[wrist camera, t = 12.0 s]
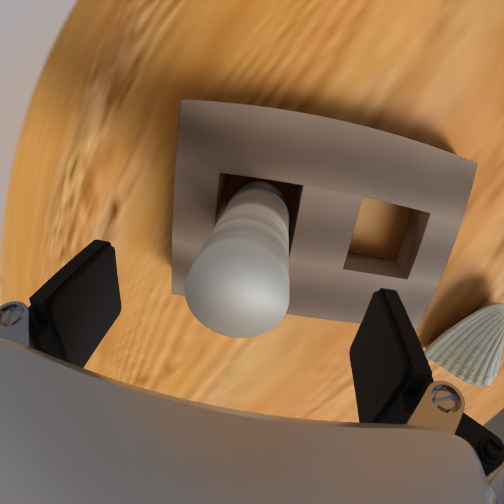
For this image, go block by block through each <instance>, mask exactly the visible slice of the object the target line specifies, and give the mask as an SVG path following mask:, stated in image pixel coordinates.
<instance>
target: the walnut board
mask: <svg viewBox="0 0 504 504" xmlns="http://www.w3.org/2000/svg"><path fill="white" fill-rule="evenodd" d="M477 164H478V163H475V162H473V161H471V160H468V159H466V158H463V157H461V156H458V155H455V154H453V153H450V152H447V151H445V150H442V149H439V148H436V147H433V146H430V145H427V144H424V143H421V142H418V141H415V140H412V139H409V138H406V137H402V136H399V135H396V134H392V133H389V132H385V131H381V130H378V129H374V128H370V127H366V126H362V125H358V124H354V123H350V122H346V121H341V120H337V119H332V118H327V117H323V116H317V115H312V114H307V113H301V112H296V111H290V110H283V109H277V108H270V107H263V106H255V105H247V104H237V103H227V102H216V101H202V100H184V99H181V107H180V116H179V127H178V138H177V150H176V163H175V179H174V198H173V223H172V294H175V295H180V296H185V290H184V288H185V281H186V277H187V275H188V273H189V271H190V269H191V267H192V265H193V264H194V262H195V260H196V258H197V257H198V255H199V253H200V251H201V250H202V248H203V246H204V244H205V243H206V241H207V239H208V238H209V236H210V234H211V232H212V231H213V229H214V227H215V226H216V224H217V222H218V221H219V219H220V217H221V215H222V214H223V206H224V196H225V187H226V178H227V174H235V175H242V176H249V177H256V178H262V179H269V180H275V181H281V182H287V183H293V184H299V190H298V195H297V201H296V206H295V211H294V217H293V222H292V227H291V232H290V237H289V306H288V309H287V312H286V314H291V315H298V316H305V317H312V318H319V319H327V320H335V321H343V322H351V323H359V324H361V322H362V320H363V318H364V315H365V313H366V310H367V308H368V305H369V303H370V300H371V298H372V295H373V293H374V292H375V291H379V289H380V288H385V289H392V290H396V291H397V293H398V295H399V297H400V299H401V301H402V303H403V305H404V307H405V310H406V312H407V314H408V316H409V318H410V321H411V323H412V325H413V327H414V329H418V327H419V325H420V323H421V321H422V318H423V316H424V314H425V312H426V310H427V308H428V306H429V304H430V302H431V299H432V297H433V295H434V293H435V291H436V288H437V286H438V284H439V281H440V279H441V277H442V274H443V272H444V269H445V267H446V264H447V262H448V259H449V256H450V254H451V251H452V248H453V246H454V243H455V240H456V237H457V234H458V231H459V228H460V225H461V222H462V219H463V216H464V213H465V210H466V206H467V203H468V199H469V196H470V192H471V189H472V185H473V181H474V177H475V173H476V169H477ZM362 197H365V198H370V199H374V200H379V201H383V202H387V203H392V204H396V205H400V206H404V207H408V208H412V212H411V215H410V218H409V222H408V225H407V228H406V232H405V235H404V238H403V241H402V244H401V247H400V250H399V253H398V256H397V259H396V261H394V260H388V259H382V258H377V257H371V256H365V255H360V254H354V253H348V249H349V246H350V242H351V238H352V235H353V231H354V227H355V223H356V220H357V216H358V212H359V208H360V204H361V199H362Z"/></svg>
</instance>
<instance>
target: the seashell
mask: <svg viewBox="0 0 504 504" xmlns="http://www.w3.org/2000/svg"><path fill="white" fill-rule="evenodd" d="M503 342H504V304H502V303H496V304H492V305H489V306H486V307H484V308H482V309H480V310H478V311H476V312H474V313H473V314H471V315H469V316H468V317H466V318H464V319H462V320H461V321H459V322H458V323H456V324H455V325H454V326H452V327H451V328H449V329H448V330H446V331H445V332H443V333H442V334H441V335H440V336H439V337H437V338H436V339H435V340H434V341H433V342H432V343H431V344H430V345H429V346H428V347H427V348H426V350H425V351H424V354H425V356H426V358H427V359H429V360H432V361H433V362H435V363H437V364H438V365H439V366H441V367H443V368H445V369H446V370H447V371H448V372H450V373H452V374H453V375H455V376H456V377H458V378H460V379H462V380H463V381H465V382H468V383H470V384H472V385H478V386H480V387H482V386H486V385H490V384H491V383H492V381H493V379H494V378H495V377H496V375H497V374H498V372H499V367H500V364H501V360H502V355H503Z"/></svg>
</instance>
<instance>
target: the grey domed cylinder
mask: <svg viewBox="0 0 504 504" xmlns="http://www.w3.org/2000/svg"><path fill="white" fill-rule="evenodd" d="M288 227H289V213H288V205H287V201H286V198H285V196H284V194H283V193H282V192H281V190H280V189H278V188H277V187H276V186H274V185H273V184H271V183H268V182H264V181H253V182H249V183H247V184H244V185H243V186H241V187H240V188H239V189H238V190H237V191H236V192H235V194H234V196H233V197H232V198H231V199H230V200H229V202H228V204H227V205H226V208H225V210H224V212H223V214H222V215H221V217H220V219H219V221H218V222H217V224H216V226H215V227H214V229H213V231H212V232H211V234H210V236H209V238H208V239H207V241H206V243H205V244H204V246H203V248H202V250H201V251H200V253H199V255H198V257H197V258H196V260H195V262H194V264H193V265H192V267H191V269H190V271H189V273H188V275H187V277H186V281H185V288H184V290H185V298H186V301H187V304H188V306H189V308H190V310H191V312H192V313H193V315H194V316H195V317H196V318H197V319H198V320H199V321H200V322H201V323H202V324H203V325H205V326H206V327H207V328H209V329H211V330H212V331H215V332H217V333H219V334H222V335H225V336H229V337H236V338H247V337H254V336H258V335H261V334H264V333H266V332H268V331H270V330H271V329H273V328H274V327H275V326H277V325H278V324H279V323H280V322H281V320H282V319H283V317H284V316H285V314H286V312H287V309H288V306H289V235H288Z"/></svg>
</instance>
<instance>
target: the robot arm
mask: <svg viewBox="0 0 504 504" xmlns="http://www.w3.org/2000/svg"><path fill="white" fill-rule="evenodd" d="M29 300H30V303H31V305H30V306H29V307H27V306H26V305H25V304H24V303H22V302H18V301H15V302H9V303H6V304H4V305H2V306H0V504H504V445H503V443H502V441H501V440H500V439H499V438H498V437H497V436H496V435H495V434H493V433H492V432H490V431H489V430H487V429H486V428H485V427H483V426H482V425H480V424H479V423H477V422H476V421H475V420H473V419H472V418H470V417H469V416H468V415H466V414H465V413H463V411H464V408H465V400H464V397H463V395H462V393H461V392H460V391H459V389H458V388H457V387H455V386H454V385H453V384H451V383H449V382H446V381H435V382H434V380H433V378H432V371H431V369H430V366H429V364H428V361H427V358H426V356H425V354H424V351H423V349H422V346H421V344H420V341H419V339H418V337H417V334H416V332H415V330H414V327H413V325H412V323H411V321H410V318H409V316H408V314H407V312H406V310H405V307H404V305H403V303H402V301H401V299H400V297H399V295H398V293H397V291H396V290H392V289H385V288H380V289H379V291H375V292H374V293H373V295H372V298H371V300H370V303H369V305H368V308H367V310H366V313H365V315H364V318H363V320H362V322H361V325H360V327H359V329H358V332H357V334H356V336H355V339H354V341H353V343H352V345H351V348H350V362H351V368H352V374H353V380H354V387H355V393H356V400H357V408H358V415H359V423H354V422H336V421H322V420H309V419H299V418H290V417H281V416H273V415H266V414H259V413H253V412H246V411H240V410H235V409H229V408H224V407H218V406H213V405H209V404H204V403H199V402H195V401H190V400H186V399H182V398H178V397H174V396H170V395H166V394H162V393H158V392H155V391H151V390H148V389H144V388H141V387H137V386H134V385H131V384H128V383H124V382H121V381H118V380H115V379H112V378H109V377H106V376H103V375H100V374H97V373H95V372H92V371H89V370H86V369H84V366H85V365H86V363H87V361H88V360H89V358H90V357H91V355H92V354H93V352H94V351H95V349H96V348H97V346H98V345H99V343H100V342H101V340H102V339H103V337H104V336H105V334H106V333H107V332H108V330H109V329H110V327H111V326H112V324H113V323H114V321H115V320H116V319H117V317H118V316H119V314H120V312H121V299H120V292H119V284H118V276H117V267H116V257H115V249H114V247H112V246H111V243H110V242H107V241H102V240H94V241H93V242H91V243H90V244H89V245H88V246H87V247H85V248H84V249H83V250H82V251H81V252H80V253H78V254H77V255H76V256H75V257H74V258H73V259H72V260H70V261H69V262H68V263H67V264H66V265H65V266H64V267H62V268H61V269H60V270H59V271H58V272H57V273H56V274H55V275H54V276H53V277H51V278H50V279H49V280H48V281H47V282H46V283H45V284H44V285H43V286H42V287H41V288H40V289H39V290H38V291H37V292H36V293H34V294H33V295H32V296H31V297H30V298H29Z"/></svg>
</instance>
